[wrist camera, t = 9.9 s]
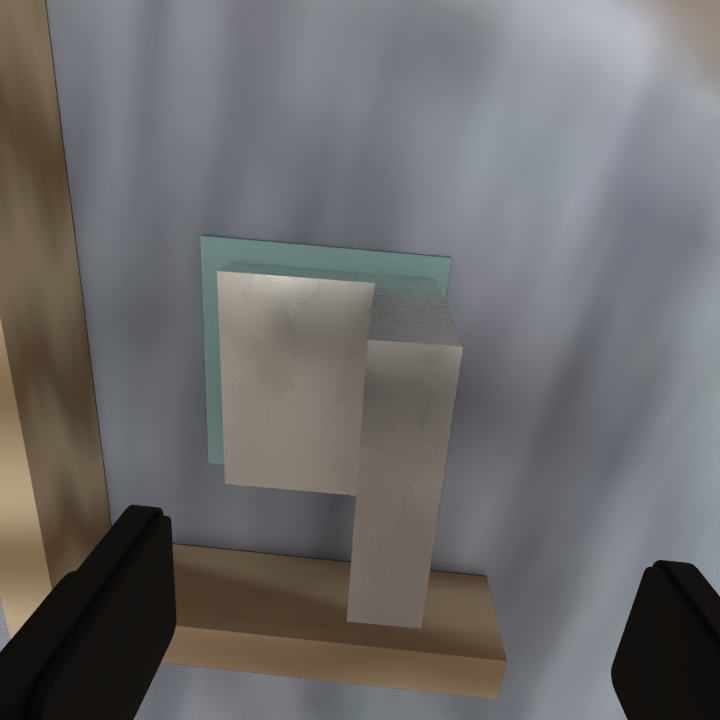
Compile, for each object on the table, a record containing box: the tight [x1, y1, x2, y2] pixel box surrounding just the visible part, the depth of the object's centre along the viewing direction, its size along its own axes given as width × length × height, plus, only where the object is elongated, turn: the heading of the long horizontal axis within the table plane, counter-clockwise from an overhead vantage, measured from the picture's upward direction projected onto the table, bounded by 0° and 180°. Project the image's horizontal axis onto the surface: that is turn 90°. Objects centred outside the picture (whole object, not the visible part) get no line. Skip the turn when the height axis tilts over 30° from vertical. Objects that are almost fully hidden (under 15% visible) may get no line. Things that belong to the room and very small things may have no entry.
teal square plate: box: [200, 235, 452, 465], centre depth 19 cm, size 9×8×1 cm
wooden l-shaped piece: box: [0, 0, 507, 699], centre depth 17 cm, size 22×18×4 cm
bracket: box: [217, 263, 463, 629], centre depth 15 cm, size 8×7×7 cm
